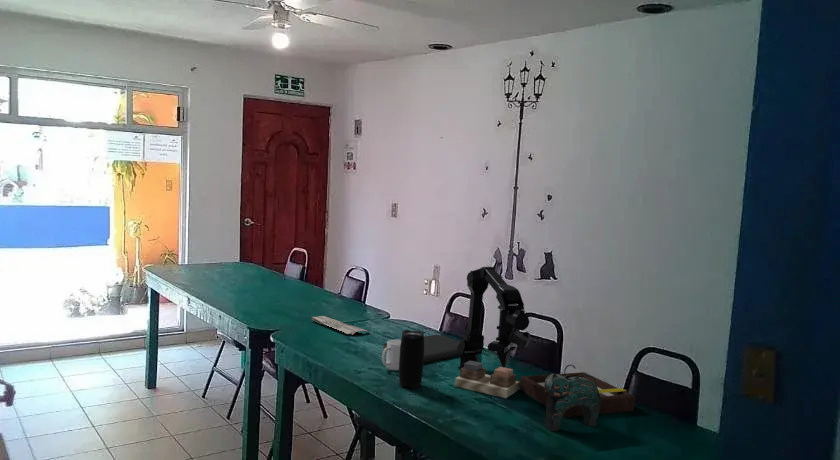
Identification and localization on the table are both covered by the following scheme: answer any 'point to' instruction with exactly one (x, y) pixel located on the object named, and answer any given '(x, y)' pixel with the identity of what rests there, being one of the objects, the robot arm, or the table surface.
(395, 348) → the cup
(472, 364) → the charcoal key
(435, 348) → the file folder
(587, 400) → the ceramic cat
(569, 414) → the brown wooden tray
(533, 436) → the table surface
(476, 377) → the key console
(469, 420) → the table surface
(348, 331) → the beige notched slab
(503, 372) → the terracotta key
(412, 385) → the portable speaker
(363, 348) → the table surface
